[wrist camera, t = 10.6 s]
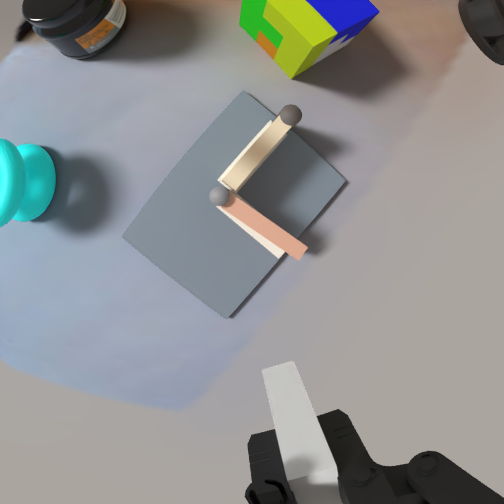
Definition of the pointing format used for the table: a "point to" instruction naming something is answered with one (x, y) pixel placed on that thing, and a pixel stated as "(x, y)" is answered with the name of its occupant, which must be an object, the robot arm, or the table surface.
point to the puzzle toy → (304, 28)
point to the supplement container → (77, 24)
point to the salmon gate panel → (257, 222)
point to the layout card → (220, 221)
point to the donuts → (24, 181)
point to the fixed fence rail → (263, 145)
